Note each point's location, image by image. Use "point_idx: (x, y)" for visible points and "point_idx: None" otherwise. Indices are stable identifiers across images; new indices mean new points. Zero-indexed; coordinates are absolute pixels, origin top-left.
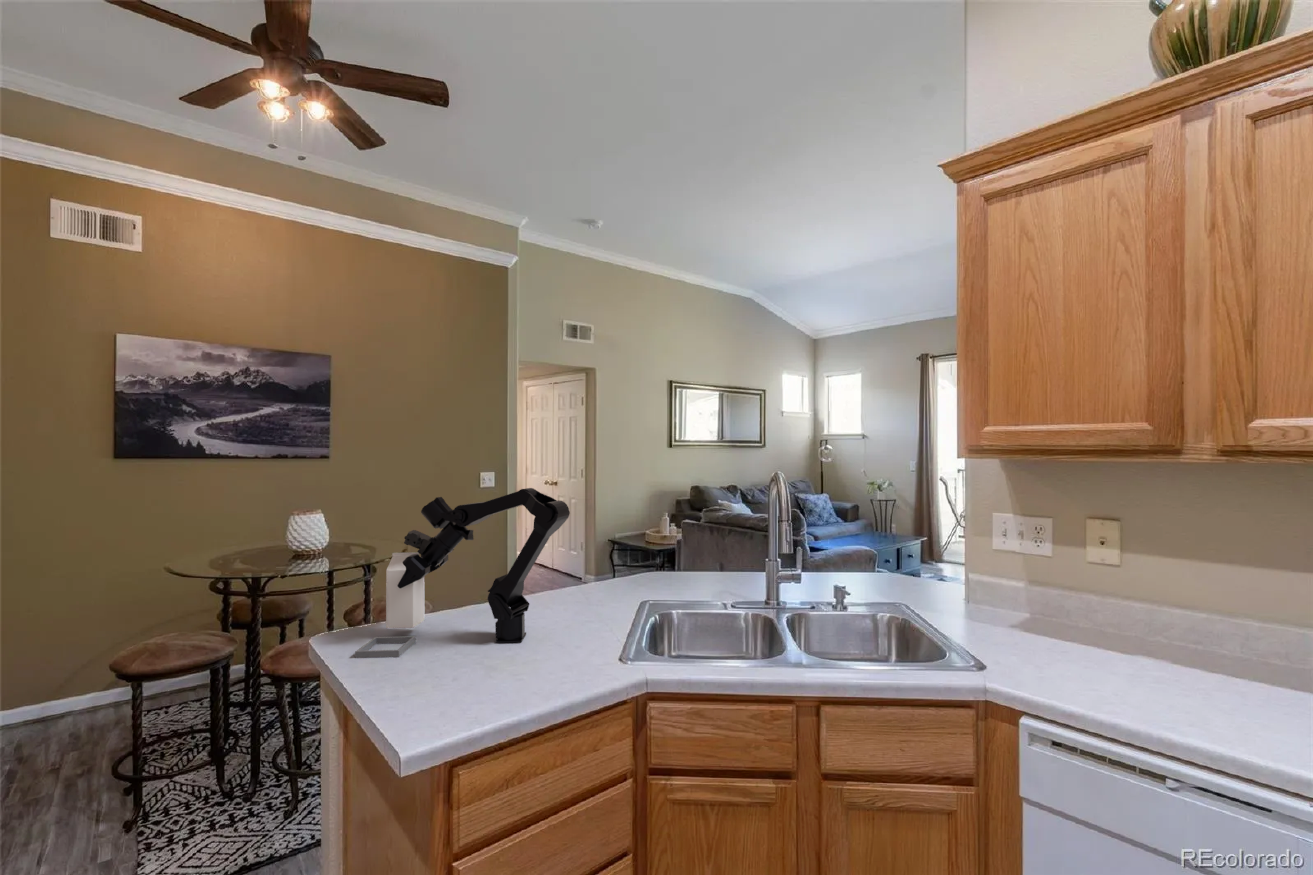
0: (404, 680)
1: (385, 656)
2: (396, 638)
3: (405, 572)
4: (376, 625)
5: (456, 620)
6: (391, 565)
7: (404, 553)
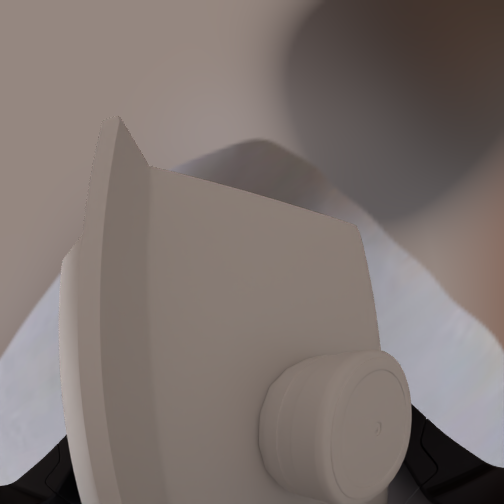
0: (11, 466)
1: None
2: None
3: (31, 474)
4: (344, 206)
5: None
6: (76, 277)
7: (103, 457)
